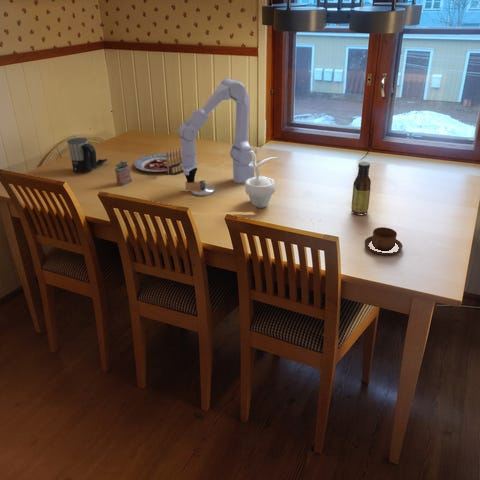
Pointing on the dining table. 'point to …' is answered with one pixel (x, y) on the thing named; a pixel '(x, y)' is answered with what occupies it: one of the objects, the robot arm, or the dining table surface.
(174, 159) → the ammunition clip
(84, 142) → the milk frother
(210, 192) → the dial
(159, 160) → the ceramic plate
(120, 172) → the lighter
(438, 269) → the dining table surface
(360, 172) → the sauce bottle
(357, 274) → the dining table surface
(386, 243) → the cup and saucer
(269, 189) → the potted plant
